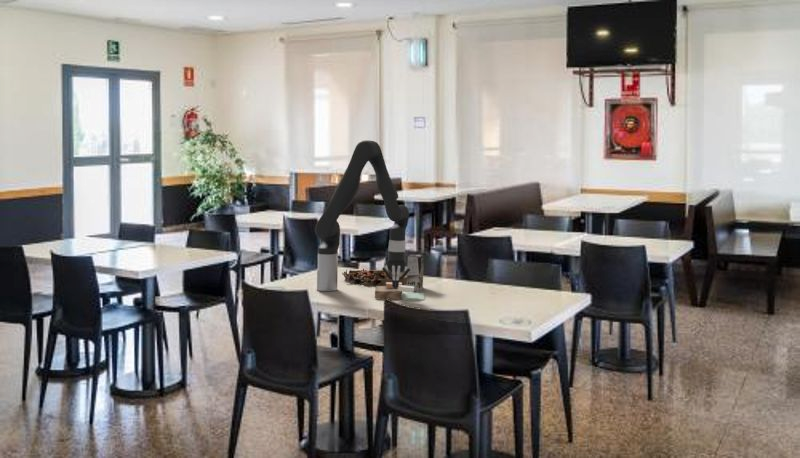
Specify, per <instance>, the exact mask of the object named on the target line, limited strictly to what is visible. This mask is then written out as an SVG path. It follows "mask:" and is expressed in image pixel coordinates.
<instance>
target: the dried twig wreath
mask: <svg viewBox="0 0 800 458" xmlns="http://www.w3.org/2000/svg"><path fill="white" fill-rule="evenodd" d="M387 271H388V272H389V273H390V275H391V276H392V272H391V271H390V270H387ZM403 273H404V272H400V275H399V276H401V275H402V274H403ZM342 275H343V277H344V278H345V279H344V281H345V282H346V283H347V284H350V285H353V284H355V286H357V285H356V284H360V285H359V286H362V285H364V286H363V287H376V286H386V282H392V279H389V278H388V276H387V275H386V274H385V272H384V271H383V270H382V269H381V270H380V269H376V270H375V269H372V268H370V269H369V270H368V269H365V268H364V267H363V268H362V269H360V270H359V269H357V270H352V269H350V270H349V271H348V269H346V270H345V271H343V272H342ZM396 277H397V272H395V280H396ZM399 283H402V285H404V286H407V274H406V276H405V277H404V278H403V279H401V280H399Z"/></svg>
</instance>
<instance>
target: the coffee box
mask: <svg viewBox="0 0 800 458" xmlns="http://www.w3.org/2000/svg"><path fill="white" fill-rule="evenodd" d="M407 267H408V268H410V271H409V272H408V273H407V285H406V286H414V292H419V291H421V290H422V289H423V288H424V254H419V253H418V254H416V253H415V254H412V253H411V254H410V255H408V256H407Z"/></svg>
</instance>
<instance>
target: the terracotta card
mask: <svg viewBox="0 0 800 458" xmlns="http://www.w3.org/2000/svg"><path fill="white" fill-rule="evenodd" d="M399 285H402V283H399ZM386 288H394V287H392V282H386ZM397 288H398V287H397Z"/></svg>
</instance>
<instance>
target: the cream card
mask: <svg viewBox="0 0 800 458" xmlns="http://www.w3.org/2000/svg"><path fill="white" fill-rule="evenodd" d="M398 291H402V293H415V291H414V286H407V285H399V286H398Z"/></svg>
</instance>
